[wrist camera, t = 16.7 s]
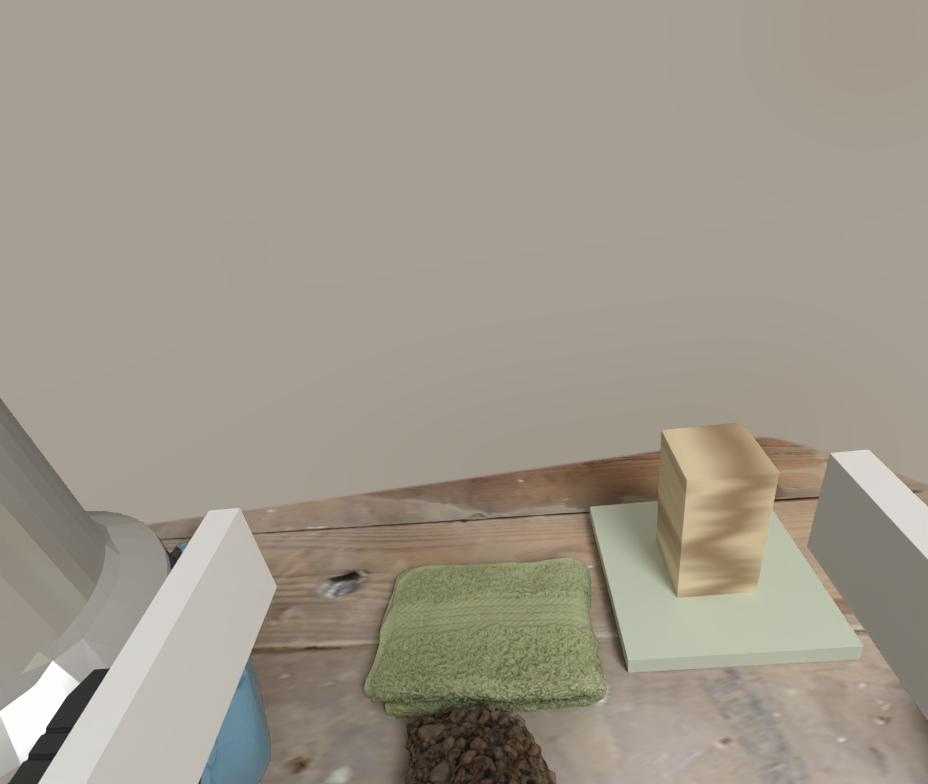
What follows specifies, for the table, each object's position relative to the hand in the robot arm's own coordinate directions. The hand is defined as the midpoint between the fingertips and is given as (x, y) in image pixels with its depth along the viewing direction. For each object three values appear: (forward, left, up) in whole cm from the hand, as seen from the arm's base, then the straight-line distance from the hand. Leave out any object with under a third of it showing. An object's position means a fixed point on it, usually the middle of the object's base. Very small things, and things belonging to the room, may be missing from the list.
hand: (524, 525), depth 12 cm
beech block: (+14, +23, -28) cm, 39 cm away
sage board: (+14, +23, -30) cm, 40 cm away
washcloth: (-4, +18, -31) cm, 36 cm away
